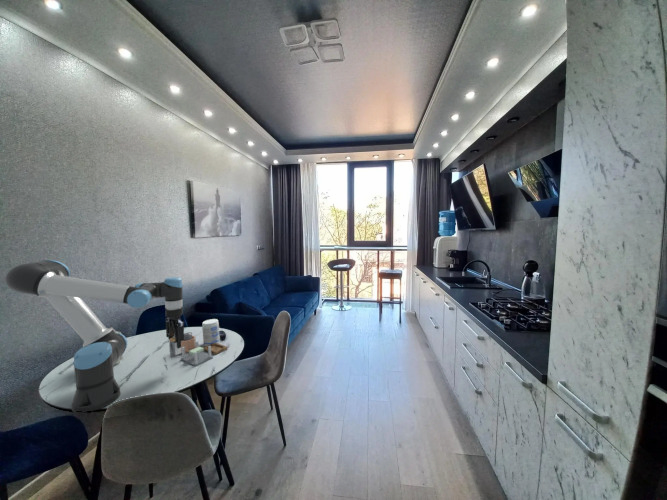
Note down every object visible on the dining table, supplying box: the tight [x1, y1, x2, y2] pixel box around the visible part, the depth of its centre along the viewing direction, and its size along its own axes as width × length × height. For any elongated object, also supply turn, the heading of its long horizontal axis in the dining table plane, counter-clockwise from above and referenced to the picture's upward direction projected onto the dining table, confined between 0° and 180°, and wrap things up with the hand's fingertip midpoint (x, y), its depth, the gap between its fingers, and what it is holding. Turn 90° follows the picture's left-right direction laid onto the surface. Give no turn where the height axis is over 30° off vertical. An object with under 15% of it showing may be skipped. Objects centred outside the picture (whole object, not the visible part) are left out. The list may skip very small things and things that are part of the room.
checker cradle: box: [180, 341, 214, 367], centre depth 142 cm, size 10×14×7 cm
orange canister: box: [181, 331, 197, 354], centre depth 153 cm, size 8×8×10 cm
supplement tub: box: [201, 318, 221, 347], centre depth 161 cm, size 10×10×15 cm
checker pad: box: [188, 346, 205, 355], centre depth 142 cm, size 6×4×2 cm, turn 150°
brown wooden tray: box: [202, 343, 228, 356], centre depth 153 cm, size 8×12×2 cm, turn 60°
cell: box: [169, 336, 182, 358], centre depth 129 cm, size 5×5×10 cm
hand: (175, 352), depth 129 cm, fingers closed on cell, 4 cm apart
